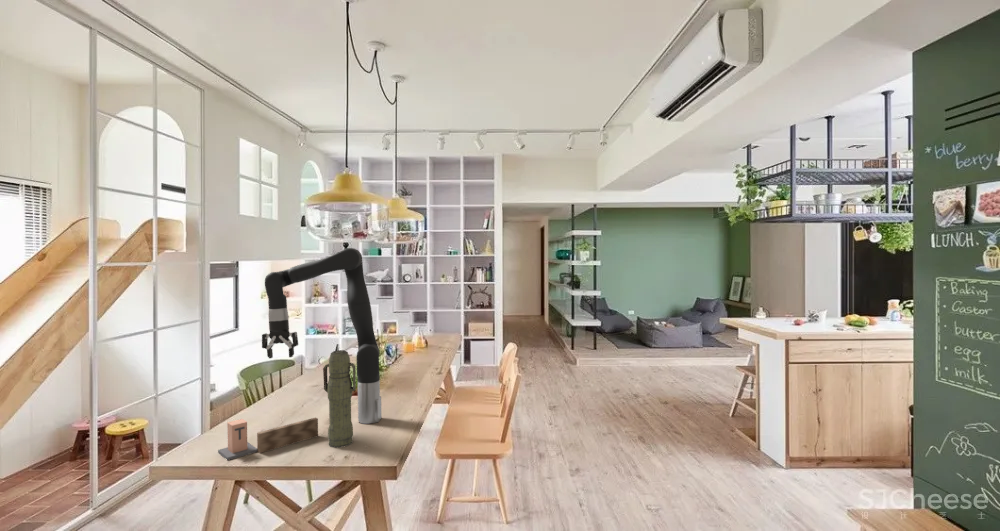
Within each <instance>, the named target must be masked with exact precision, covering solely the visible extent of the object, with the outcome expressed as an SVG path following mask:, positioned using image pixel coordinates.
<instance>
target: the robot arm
mask: <svg viewBox="0 0 1000 531" xmlns="http://www.w3.org/2000/svg"><path fill="white" fill-rule="evenodd" d="M363 265H364V264H363V256H362V253H361V252H360V250H358V249H357V248H354V247H348V248H347V247H346V248H344V249H342V250H339V251H338V252H337V253H333V254H332V255H330V256H327V257H324V258H322V259H321V258H320V259H317V260H313V261H309V262H305V263H301V264H297V265H294V266H292V267H289V268H288V269H284V270H279V271H271V272H269V273H268V274H267V275H266V276H265V278H264V288H265V293H266V295H267V299H268V300H267V301H268V302H267V303H268V314H267V315H268V328H269V333H267V332H266V333H263V334H261V348H262V349H264V350H265V349H266V357H267V358H268V359H273V357H274V356H273V354H274V353H273V347H274V346H275V345H276V344H277V345H278V344H285V345H286V346H287V347H288V358H293V357H294V355H295V347H298V346H299V338H298V332H297V331H293V332H290V324H289V318H290V317H289V311H288V301H287V300H288V299H287V296H286V295H285V293H284V288H285V287H289V286H291V285H293V284H296V283H301V282H305V281H308V280H312V279H315V278H317V277H320V276H322V275H325V274H327V273H332V272H336V271H342V270H343V271H344V273H345V278H346V285H347V289H346V299H347V300H346V301H347V302H346V303H347V307H348V312H349V316H350V319H351V323H352V325H353V328H354V330H355V333H356V334H355V335H356V337H357V338H356V339H357V348H358V350H357V353H356V377H357V378H356V379H357V413H358V414H357V420H358V421H359V422H360V424H367V425H368V424H375V423H378V422H380V421H381V419H382V415H383V414H382V396H381V390H380V389H381V384H380V382H381V380H380V378H381V377H380V375H381V374H380V349H379V345H378V343H377V339H376V335H375V332H374V324H373V323H374V321H373V312H372V306H371V305H372V304H371V301H370V296H369V293H368V288H367V284H366V280H365V276H364V275H365V274H364V266H363ZM290 338H291V339H292V340H291V339H290ZM268 339H270V341H269V343H268ZM359 422H358V423H359Z"/></svg>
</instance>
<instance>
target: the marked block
mask: <svg viewBox="0 0 1000 531" xmlns="http://www.w3.org/2000/svg"><path fill="white" fill-rule="evenodd" d="M226 427H227V447H228V450H229V451H230V452H231V453H236V452H239V451H243V450H246V449H248V448H247V442H248V421H246V420H245V419H243V418H240V419H235V420H232V421H227V424H226Z"/></svg>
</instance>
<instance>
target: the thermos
mask: <svg viewBox="0 0 1000 531" xmlns="http://www.w3.org/2000/svg"><path fill="white" fill-rule="evenodd" d="M349 354H350V353H348V351H346V350H341V349H340V350H333V351H331V353H330V354H329V358H328V363H327V364H325V365H324V366H323V368H322V371H323V372H322V373H323V374H322V375H323V376H322V377H323V390H324V392H326V393H327V400H328V404H329V405H328V412H329V413H328V415H329V420H328V421H329V423H328V424H329V426H328V428H327V439H328V446H329V447H331V448H337V447H338V448H343V447H344V446H345V447H348V446H350V445H351V444H352V443H353V442H354V441H353V435H354V426H353V422H352V397H353V392H354V391H356V388H357V386H356V384H357V381H356V379H357V378H356V377H357V367H356V365H355V363H352V362H351V357H350V355H349ZM351 368H352V378H351V374H350V372H351ZM328 373H329V376H328ZM345 447H344V448H345Z"/></svg>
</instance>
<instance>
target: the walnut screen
mask: <svg viewBox="0 0 1000 531" xmlns="http://www.w3.org/2000/svg"><path fill="white" fill-rule="evenodd" d="M256 434H257V435H256V441H257V442H256V443H257V447H256V448H257V449H258V452H257V453H259V454H261V453H262V454H263V453H265V452H269V451H273V450H276V449H279V448H282V447H285V446H289V445H292V444H296V443H300V442H303V441H307V440H311V439H314V438H316V436H317V437H319V418H318V417H316V416H315V417H312V418H308V419H305V420H300V421H297V422H293V423H289V424H285V425H282V426H277V427H274V428H270V429H267V430H263V431H258V432H257V433H256Z"/></svg>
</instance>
